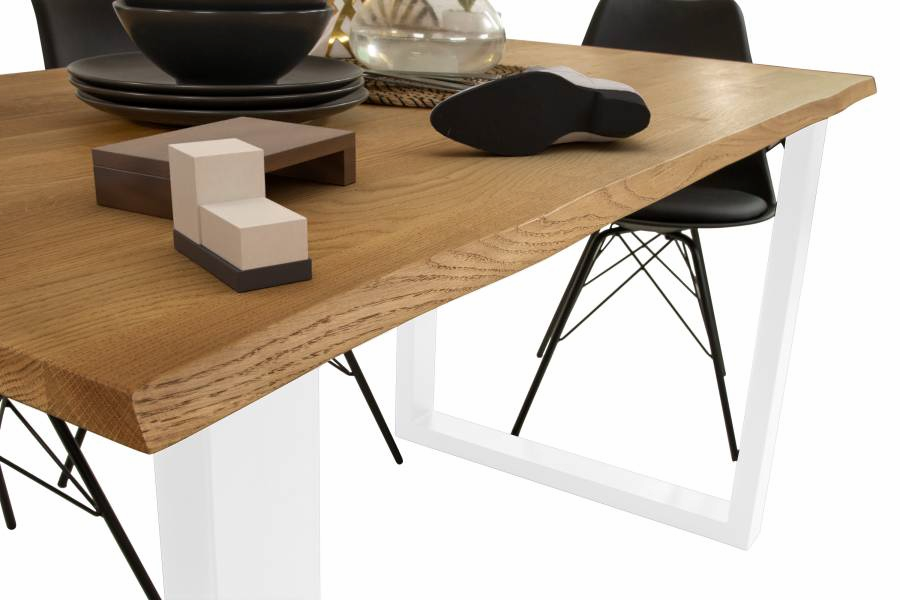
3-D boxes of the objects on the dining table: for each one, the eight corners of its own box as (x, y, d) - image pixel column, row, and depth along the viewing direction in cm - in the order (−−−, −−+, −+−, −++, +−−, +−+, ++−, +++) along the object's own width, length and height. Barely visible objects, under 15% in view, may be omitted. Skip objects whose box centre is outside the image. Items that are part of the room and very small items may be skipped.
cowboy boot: (672, 82, 114) (587, 58, 137) (439, 64, 106) (389, 41, 129) (658, 164, 117) (577, 127, 140) (430, 152, 109) (383, 115, 132)
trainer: (312, 279, 71) (310, 167, 68) (238, 292, 68) (232, 176, 65) (241, 237, 80) (236, 137, 78) (173, 247, 77) (166, 144, 74)
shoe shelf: (356, 182, 99) (355, 131, 97) (219, 229, 82) (216, 168, 81) (244, 164, 105) (242, 116, 103) (96, 204, 89) (90, 148, 87)
